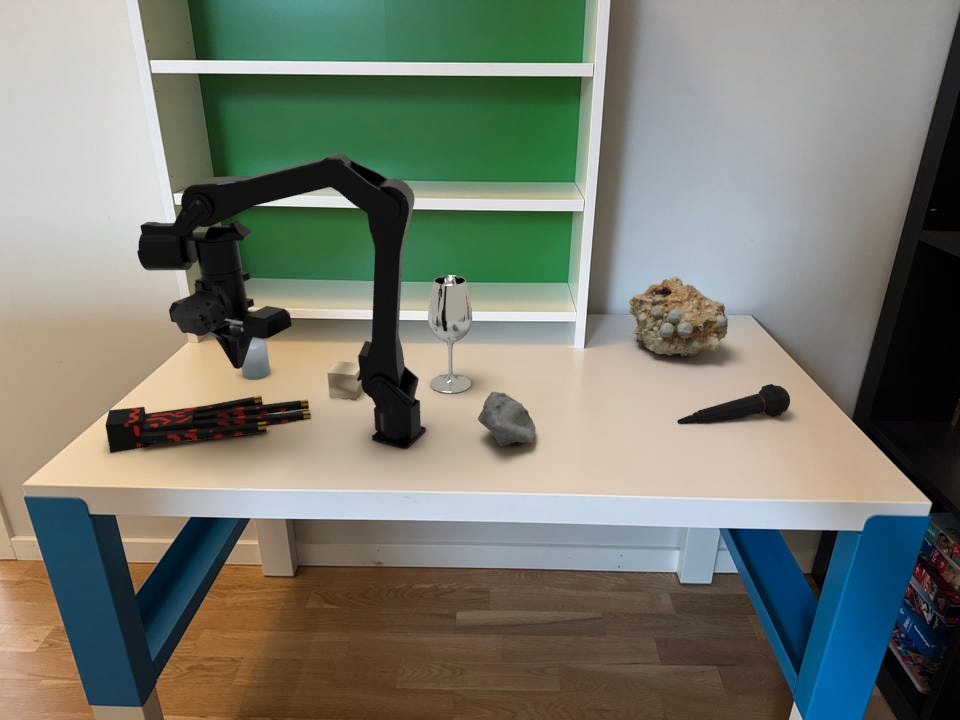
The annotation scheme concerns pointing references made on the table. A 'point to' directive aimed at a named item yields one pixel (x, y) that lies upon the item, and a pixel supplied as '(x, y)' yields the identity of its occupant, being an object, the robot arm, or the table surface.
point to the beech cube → (344, 381)
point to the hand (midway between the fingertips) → (238, 367)
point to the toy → (198, 422)
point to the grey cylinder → (256, 361)
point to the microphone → (745, 406)
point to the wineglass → (450, 325)
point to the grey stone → (507, 419)
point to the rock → (677, 319)
